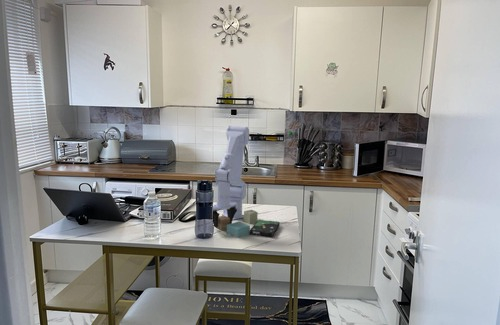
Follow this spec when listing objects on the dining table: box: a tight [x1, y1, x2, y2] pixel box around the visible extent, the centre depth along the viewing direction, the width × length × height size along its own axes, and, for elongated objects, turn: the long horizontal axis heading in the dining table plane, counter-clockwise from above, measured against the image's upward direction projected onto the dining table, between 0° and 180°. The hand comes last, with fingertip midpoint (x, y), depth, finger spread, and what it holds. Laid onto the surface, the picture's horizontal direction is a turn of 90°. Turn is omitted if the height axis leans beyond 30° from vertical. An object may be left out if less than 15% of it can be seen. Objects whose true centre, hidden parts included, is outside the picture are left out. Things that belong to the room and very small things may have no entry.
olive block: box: [243, 209, 259, 225], centre depth 180 cm, size 4×4×5 cm
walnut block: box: [216, 215, 230, 232], centre depth 170 cm, size 4×4×5 cm
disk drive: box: [249, 219, 281, 239], centre depth 169 cm, size 10×3×15 cm
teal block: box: [226, 221, 251, 239], centre depth 165 cm, size 7×7×4 cm
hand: (222, 225), depth 170 cm, fingers open, 7 cm apart
